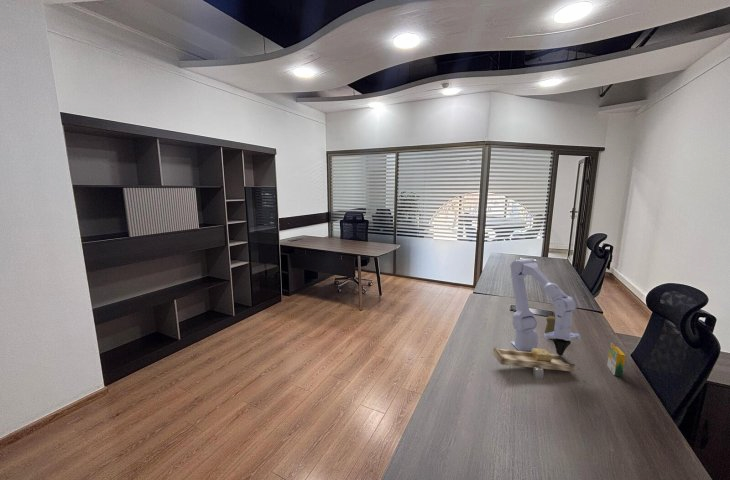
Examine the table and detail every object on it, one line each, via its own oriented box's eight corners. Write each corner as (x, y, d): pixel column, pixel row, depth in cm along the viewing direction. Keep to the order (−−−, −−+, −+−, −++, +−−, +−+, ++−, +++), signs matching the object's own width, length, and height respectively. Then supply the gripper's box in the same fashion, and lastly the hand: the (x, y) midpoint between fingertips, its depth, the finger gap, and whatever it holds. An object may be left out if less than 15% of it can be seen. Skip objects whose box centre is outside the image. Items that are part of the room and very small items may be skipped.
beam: (560, 361, 132) (562, 353, 131) (573, 373, 123) (575, 364, 122) (492, 354, 131) (493, 346, 131) (501, 366, 123) (502, 357, 122)
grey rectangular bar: (525, 359, 134) (526, 351, 134) (542, 378, 121) (543, 369, 120) (518, 359, 134) (519, 351, 134) (535, 378, 121) (536, 369, 120)
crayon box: (622, 377, 121) (627, 351, 119) (614, 375, 122) (617, 350, 120) (615, 367, 128) (618, 342, 126) (606, 365, 129) (610, 341, 127)
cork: (555, 334, 157) (557, 315, 155) (558, 340, 151) (561, 320, 149) (542, 333, 159) (544, 314, 157) (545, 338, 153) (547, 318, 151)
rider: (543, 357, 129) (545, 349, 129) (550, 364, 124) (552, 355, 124) (530, 356, 129) (532, 347, 129) (536, 362, 124) (538, 354, 124)
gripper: (551, 329, 120) (548, 359, 122) (587, 329, 120) (582, 359, 122) (541, 321, 127) (538, 350, 129) (575, 321, 127) (571, 350, 129)
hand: (559, 354), depth 126 cm, fingers closed
